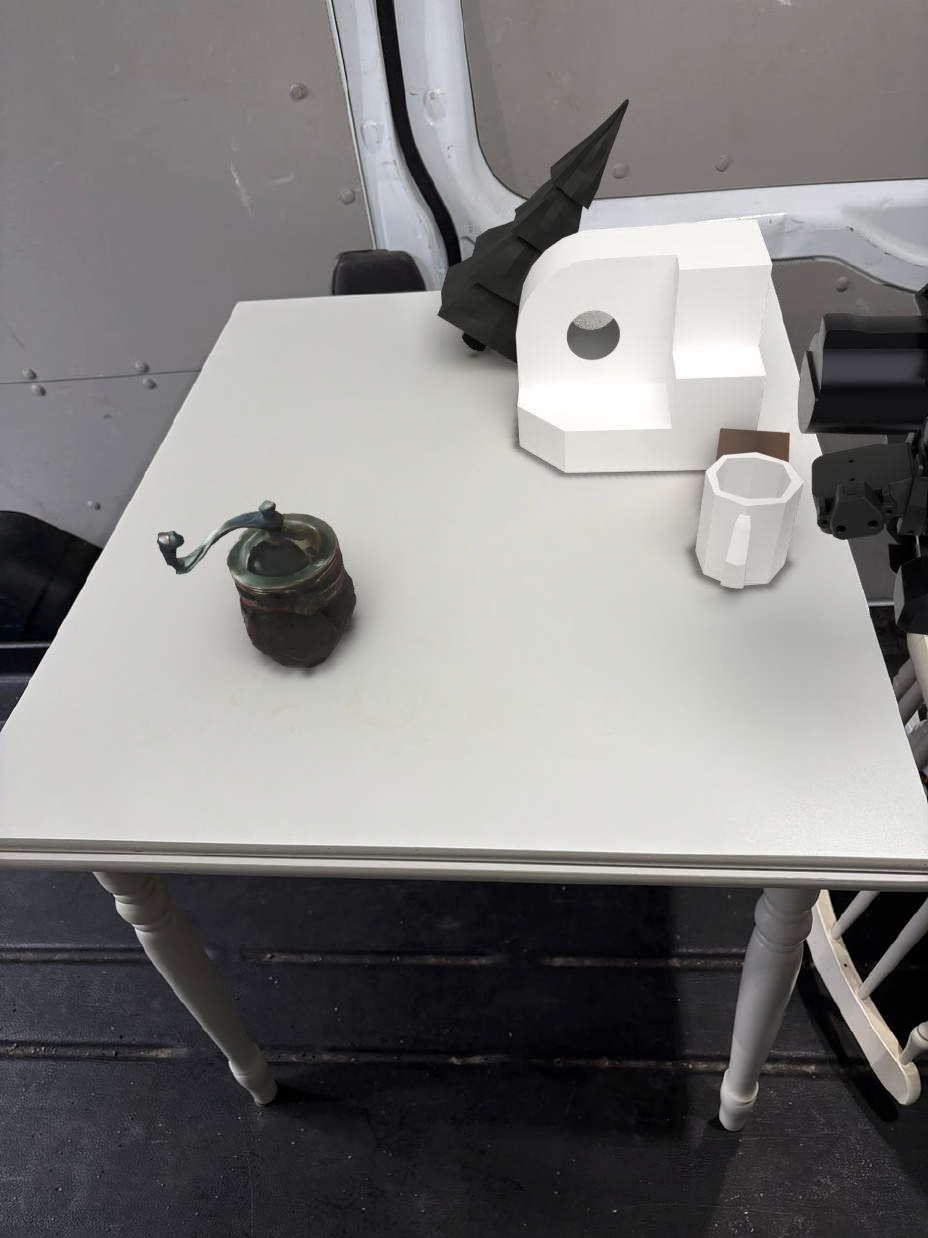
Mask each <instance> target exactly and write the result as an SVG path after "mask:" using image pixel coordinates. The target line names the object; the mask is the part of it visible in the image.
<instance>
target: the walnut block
mask: <svg viewBox="0 0 928 1238" xmlns="http://www.w3.org/2000/svg"><path fill="white" fill-rule="evenodd" d="M790 439H791V432H784V431H770V430H769V431H768V430H757V431H756V430H741V429H726V428H720V434H719V441H718V448H717V455H716V461H718V460H719V459H720V458H721V457H722V456H723V455H731V454H742V453H753V452H757V453H760V454H764V455H767V456H770V457H773V458H777V459H780V460H783V461H786V462H789V463H790V443H791V442H790Z"/></svg>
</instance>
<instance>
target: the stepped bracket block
mask: <svg viewBox="0 0 928 1238" xmlns="http://www.w3.org/2000/svg"><path fill="white" fill-rule="evenodd" d="M764 239H765V238H764V237H763V234H762V231H761V228H760V225H759V222H758V219H756V218H755V219H740V220H737V219H736V220H722V221H708V222H689V223H674V224H673V223H671V224H658V225H643V226H627V227H625V226H624V227H611V228H610V227H609V228H595V229H588V230H587V229H586V230H585V229H584V230H581V231H578V233H576V234H573V235H570V236H567V237H565V238H562V239H561V240H560V241H558V242H557V243H555V244H554V245H552V246H551V247H550V248H548V249H547V250H545V252H544V253H543V254H542V255H541V256H540V257H539V259H538V260H537V261H536V262H535V263H534V264H533V266H532V267H531V269H530V271H529V273H528V276H527V278H526V280H525V282H524V284H523V289H522V294H521V300H520V306H519V314H518V322H517V330H516V345H517V361H518V364H517V377H518V396H517V405H516V407H517V424H518V436H519V437H518V439H519V447H520V448H522V449H524V450H525V451H527V452H528V453H531V454H532V455H534V456H535V457H538V458H539V459H541V460H542V461H544V462H545V463H548V464H549V465H551V466H553V467H555V468H556V469H558V470H559V471H561V472H562V473H565V474H576V473H577V474H580V473H581V474H582V473H583V474H584V473H620V472H621V473H628V472H631V473H632V472H675V471H678V472H679V471H707V470H708V469H709V468H710V467H711V466H712V465H713V464H714V463H715V462H716V455H717V448H718V441H719V434H720V428H726V429H741V430H756V431H758V427H759V421H760V416H761V409H762V405H763V399H764V393H765V392H764V391H765V386H766V380H767V372H766V368H765V365H764V362H763V361H764V360H763V358H762V355H761V351H760V344H761V338H762V331H763V325H764V319H765V313H766V307H767V302H768V296H769V295H768V294H769V288H770V282H771V276H772V271H773V262H772V259H771V257H770V254H769V251H768V247H767V245H766V242H765V240H764ZM593 311H594V312H595V311H597V312H603V313H605V314H607V315H609V316H610V317H612V319H611V320H610V321H609V322H608V323H606V325H603V326H601V327H599V328H595V329H586V328H583V327H580V326H579V325H577V324H575V323H574V322H573V321H574V320H575V319H576V318H577V317H579V316H580V315H582V314H584V313H587V312H593Z"/></svg>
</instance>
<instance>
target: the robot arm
mask: <svg viewBox="0 0 928 1238" xmlns="http://www.w3.org/2000/svg"><path fill="white" fill-rule="evenodd" d="M913 303H914V305H915V308H916V310H917V314H916V315H858V314H855V313H850V312H848V313H847V312H827V313H826V314H824V315H823V316H822V318H821V323H820V326H819V332H816V333H815V334H814V335H813V337H812V339H811V342H810V344H809V348H808V350H804V354H803V357H802V363H801V367H800V373H799V374H800V375H799V381H798V382H799V383H798V393H797V424H798V429H799V431H800V434H802V435H855V436H856V435H859V436H860V435H861V436H863V435H864V436H867V435H869V436H885V438H884V441H883V443H873V444H868V445H863V446H858V447H852V448H849V449H844V450H839V451H838V450H837V451H833V452H828V453H824V454H821V455H819V456H817V457H816V458H815V459H814V460H813V461H812V463H811V495H812V499H813V503H814V507H815V508H814V509H815V512H816V525H817V527H819V529H820V531H821V532H822V533H824V534H826V535H832V537H834V538H835V539H837V540H840V541H847V540H854V539H861V538H868V537H874V536H877V535H879V534H880V533H881V532H883V531H884V529H885V531H886V532H887V533H888V535H889V536H890V537H891V538H892V540H894V541H895V543H887V552H888V562H889V563H888V564H889V569H890V572H892V574H893V575H894V576H895V581H894V589H893V594H892V595H893V596H892V597H893V607H894V608H893V609H894V617H895V625H896V626H897V627H898V628H899V629H900V630H902V631H904V632H905V633H906V634H913V635H920V636H928V282H927V283H926V284H925V285H923V287H922V288H920V290H918V291H917V292H916V293H915V294H914V295H913Z"/></svg>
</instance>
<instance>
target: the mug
mask: <svg viewBox="0 0 928 1238" xmlns="http://www.w3.org/2000/svg"><path fill="white" fill-rule="evenodd" d="M804 484H805V482H804V481H803V479H802V478H801V477H800V475H799V474H798V473H797V471H796V470H795V469H794V467H793V466H792V465H791V464H790V461H789V462H786V461H783V460H780V459H777V458H773V457H770V456H767V455H764V454H760V453H757V452H753V453H742V454H731V455H723V456H722V457H721V458H720V459H719V460H718V461H716V462H715V463H714V464H713V465H712V466H711V467H710V468H709V469H708V470H705V474H704V482H703V489H702V497H701V502H700V503H701V504H700V512H699V518H698V528H697V536H696V543H695V549H694V551H695V555H696V557H697V561H698V563H699V566H700V570H701V572H702V575H705V576H707V577H709V578H711V579H713V580H716V581H718V582H720V584H719V585H720V586H723V587H727V588H731V589H742V590H743V589H744V587H745V586H755V585H757V586H758V585H768V584H769V583H770V582H771V581H772V580H773V578H774V577H775V576H776V575H777V574H778V573H779V572H780V570H781V569H782V568H783V566H784V565H785V564H786V560H787V555H788V551H789V547H790V543H791V539H792V535H793V530H794V526H795V522H796V518H797V513H798V509H799V504H800V501H801V495H802V492H803V488H804Z"/></svg>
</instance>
